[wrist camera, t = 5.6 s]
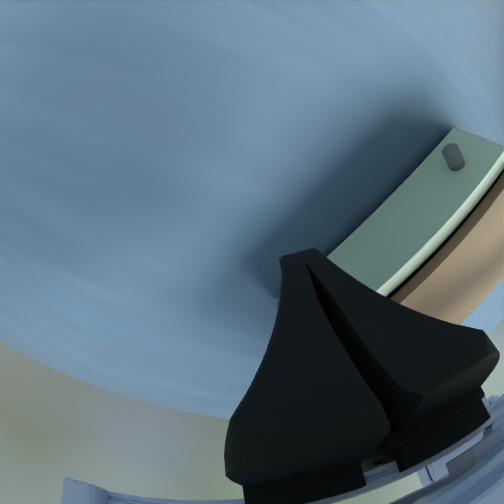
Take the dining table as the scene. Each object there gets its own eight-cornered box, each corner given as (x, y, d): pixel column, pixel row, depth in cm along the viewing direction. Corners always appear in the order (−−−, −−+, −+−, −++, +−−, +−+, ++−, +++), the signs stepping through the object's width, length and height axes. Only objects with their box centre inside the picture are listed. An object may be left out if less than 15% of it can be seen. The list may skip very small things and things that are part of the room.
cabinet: (487, 203, 15) (532, 237, 11) (346, 341, 20) (369, 394, 16) (460, 132, 12) (523, 158, 8) (287, 306, 17) (308, 373, 13)
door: (458, 138, 12) (509, 160, 8) (283, 309, 17) (299, 364, 13) (446, 114, 11) (501, 131, 7) (262, 296, 16) (274, 353, 12)
